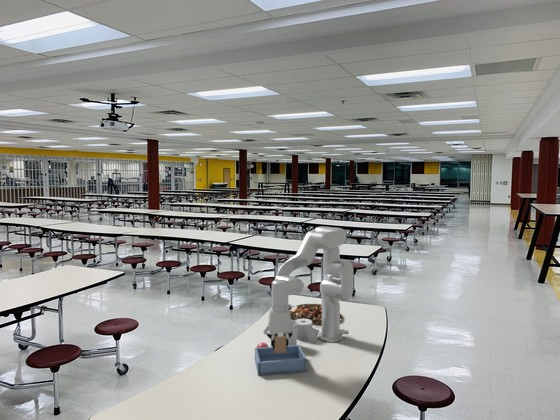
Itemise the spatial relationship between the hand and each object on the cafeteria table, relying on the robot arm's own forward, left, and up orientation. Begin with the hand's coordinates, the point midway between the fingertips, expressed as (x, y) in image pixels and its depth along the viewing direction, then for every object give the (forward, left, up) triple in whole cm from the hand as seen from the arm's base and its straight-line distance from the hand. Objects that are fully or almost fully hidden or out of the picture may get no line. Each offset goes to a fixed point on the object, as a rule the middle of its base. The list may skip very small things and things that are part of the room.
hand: (279, 347), depth 174 cm
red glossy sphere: (+6, -12, -9) cm, 16 cm away
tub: (0, 0, -9) cm, 9 cm away
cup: (-9, -20, -9) cm, 24 cm away
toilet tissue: (-19, -29, -9) cm, 35 cm away
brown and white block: (0, 0, -2) cm, 2 cm away
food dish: (-31, -60, -9) cm, 68 cm away
